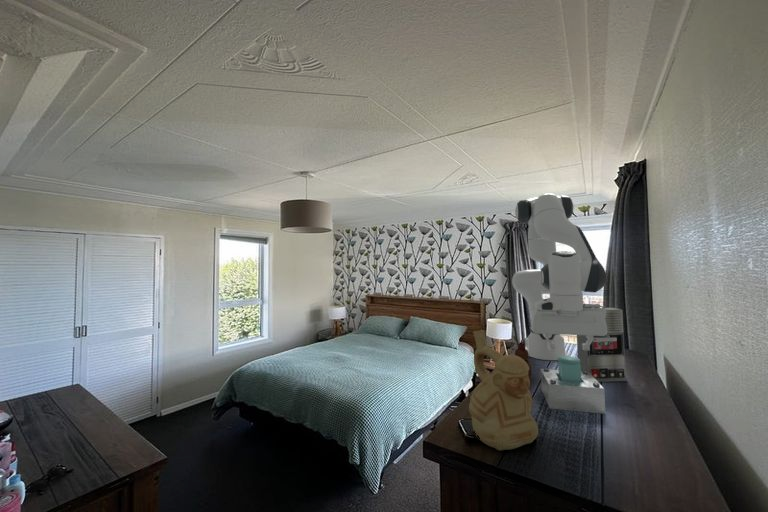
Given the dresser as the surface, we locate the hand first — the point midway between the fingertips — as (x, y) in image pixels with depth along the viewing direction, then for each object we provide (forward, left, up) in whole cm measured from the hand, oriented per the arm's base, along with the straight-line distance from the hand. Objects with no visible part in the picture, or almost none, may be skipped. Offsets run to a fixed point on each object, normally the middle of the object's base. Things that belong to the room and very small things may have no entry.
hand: (568, 349), depth 97 cm
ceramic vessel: (+26, -21, -16) cm, 37 cm away
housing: (0, 0, -16) cm, 16 cm away
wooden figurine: (-15, -12, -16) cm, 25 cm away
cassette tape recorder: (-22, +15, -16) cm, 31 cm away
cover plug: (0, 0, -16) cm, 16 cm away
